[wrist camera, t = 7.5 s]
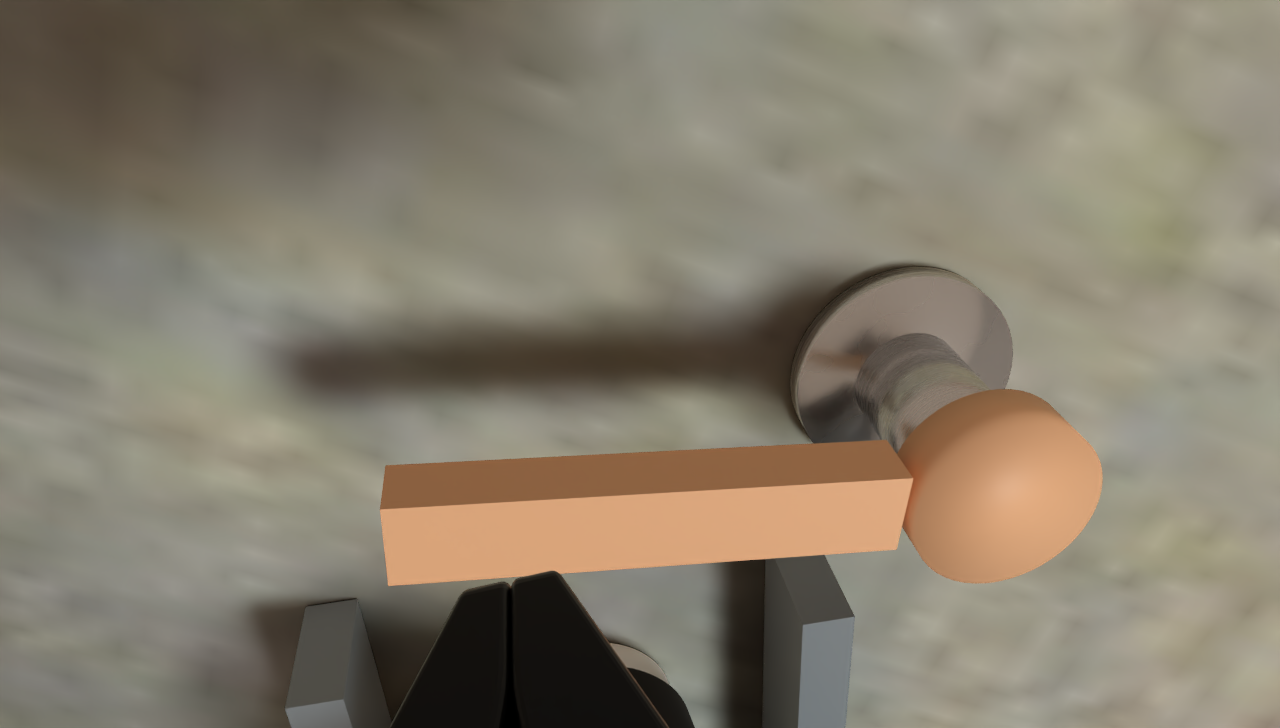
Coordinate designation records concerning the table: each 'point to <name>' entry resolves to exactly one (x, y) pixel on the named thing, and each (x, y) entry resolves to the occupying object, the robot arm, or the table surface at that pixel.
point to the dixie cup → (655, 686)
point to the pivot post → (897, 355)
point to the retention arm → (758, 502)
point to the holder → (792, 671)
